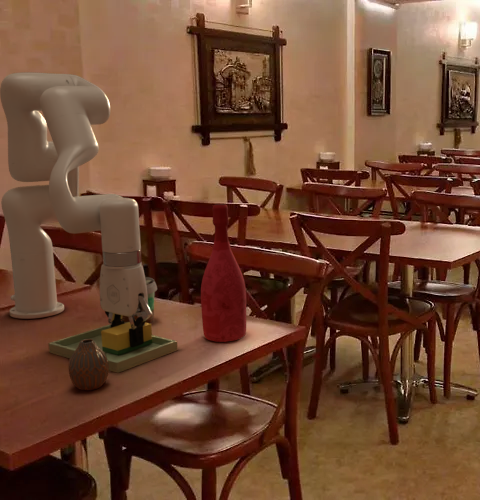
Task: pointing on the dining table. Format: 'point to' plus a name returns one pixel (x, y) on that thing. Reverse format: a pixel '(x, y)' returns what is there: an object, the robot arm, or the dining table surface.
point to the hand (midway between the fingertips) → (127, 342)
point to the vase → (88, 366)
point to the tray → (116, 362)
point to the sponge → (123, 338)
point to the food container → (150, 293)
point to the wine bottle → (223, 287)
